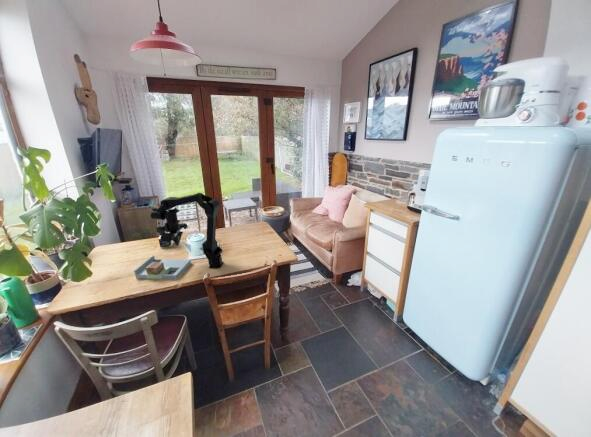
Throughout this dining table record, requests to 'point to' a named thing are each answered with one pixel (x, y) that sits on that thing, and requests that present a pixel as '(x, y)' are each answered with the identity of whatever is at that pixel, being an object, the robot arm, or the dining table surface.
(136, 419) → the dining table surface
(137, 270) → the box
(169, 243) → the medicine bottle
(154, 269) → the walnut block
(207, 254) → the robot arm
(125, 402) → the dining table surface
